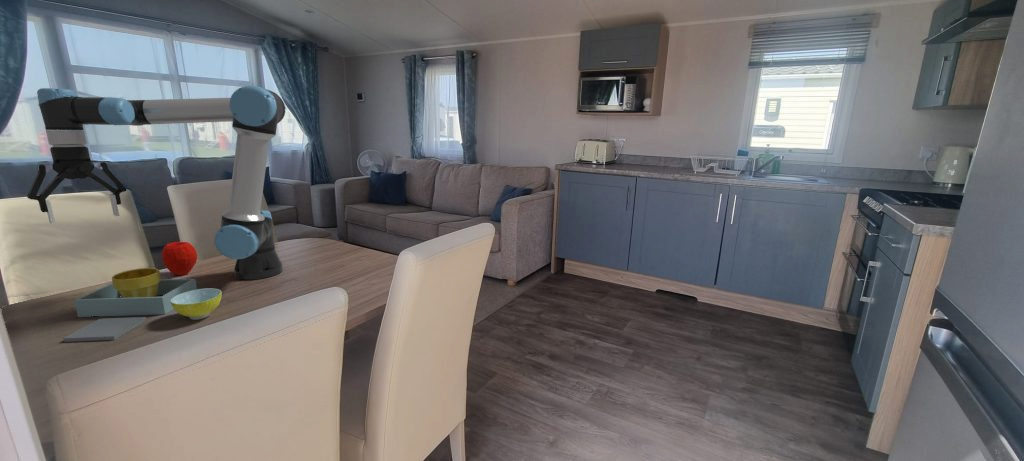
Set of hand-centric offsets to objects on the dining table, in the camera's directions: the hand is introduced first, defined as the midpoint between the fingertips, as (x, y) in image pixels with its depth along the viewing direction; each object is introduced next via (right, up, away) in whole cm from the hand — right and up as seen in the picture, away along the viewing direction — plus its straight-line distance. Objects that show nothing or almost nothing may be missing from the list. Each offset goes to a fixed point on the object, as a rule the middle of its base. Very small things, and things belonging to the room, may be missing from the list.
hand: (86, 219), depth 123 cm
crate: (+17, -25, 0) cm, 30 cm away
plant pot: (+17, -25, 0) cm, 30 cm away
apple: (+8, -19, +26) cm, 33 cm away
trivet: (+22, -29, -16) cm, 40 cm away
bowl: (+39, -27, -7) cm, 48 cm away
